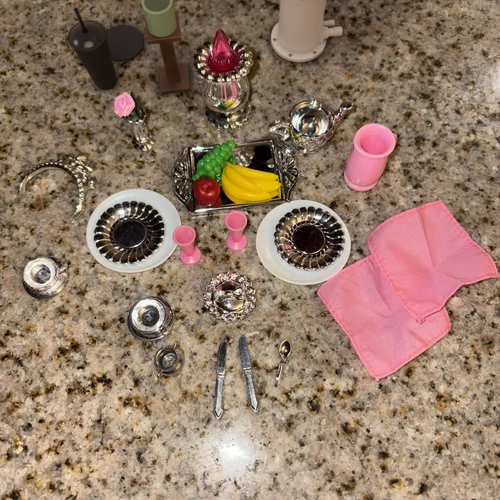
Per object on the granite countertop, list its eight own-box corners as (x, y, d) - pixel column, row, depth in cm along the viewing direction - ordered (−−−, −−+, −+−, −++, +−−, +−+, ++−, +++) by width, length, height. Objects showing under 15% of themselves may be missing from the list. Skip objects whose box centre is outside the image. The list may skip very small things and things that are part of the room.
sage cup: (175, 12, 95) (171, -12, 89) (178, 35, 93) (173, 11, 87) (146, 15, 94) (140, -9, 89) (148, 38, 92) (142, 15, 87)
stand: (187, 67, 110) (177, 10, 95) (190, 91, 108) (180, 37, 93) (159, 70, 110) (144, 14, 94) (161, 94, 107) (146, 40, 92)
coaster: (142, 23, 114) (142, 22, 114) (145, 58, 111) (145, 57, 110) (99, 28, 114) (98, 27, 113) (101, 63, 110) (100, 62, 110)
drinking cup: (121, 95, 107) (94, 26, 88) (87, 95, 107) (51, 25, 89) (125, 67, 110) (99, -7, 91) (91, 66, 110) (58, -7, 91)
